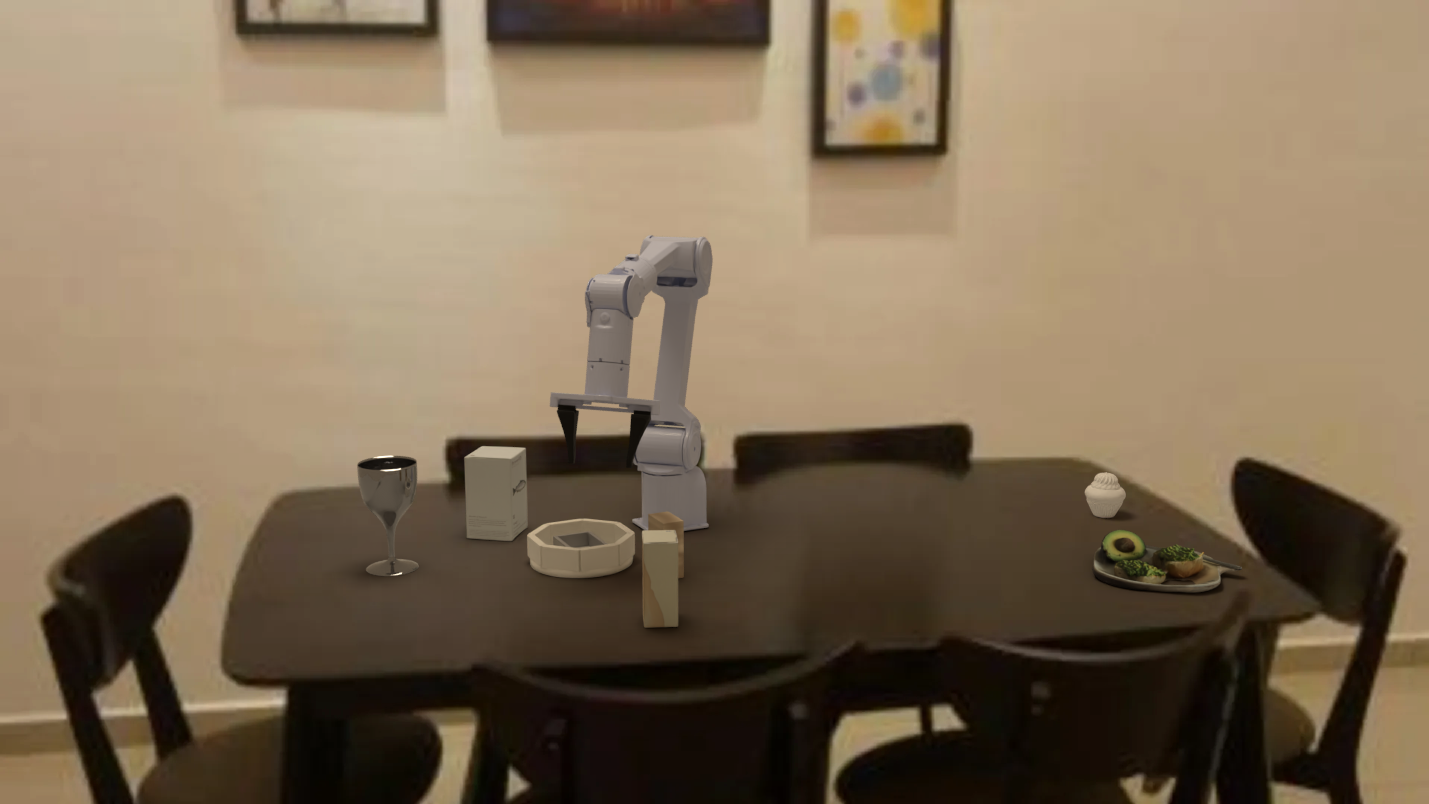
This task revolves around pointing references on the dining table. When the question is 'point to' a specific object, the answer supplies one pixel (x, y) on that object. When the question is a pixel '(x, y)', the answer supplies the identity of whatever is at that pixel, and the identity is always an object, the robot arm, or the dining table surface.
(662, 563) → the box
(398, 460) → the wine glass
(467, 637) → the dining table surface
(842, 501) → the dining table surface
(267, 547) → the dining table surface
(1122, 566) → the salad plate
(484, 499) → the supplement box
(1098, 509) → the muffin
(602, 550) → the octagonal cream tray
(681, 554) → the tan wooden block
